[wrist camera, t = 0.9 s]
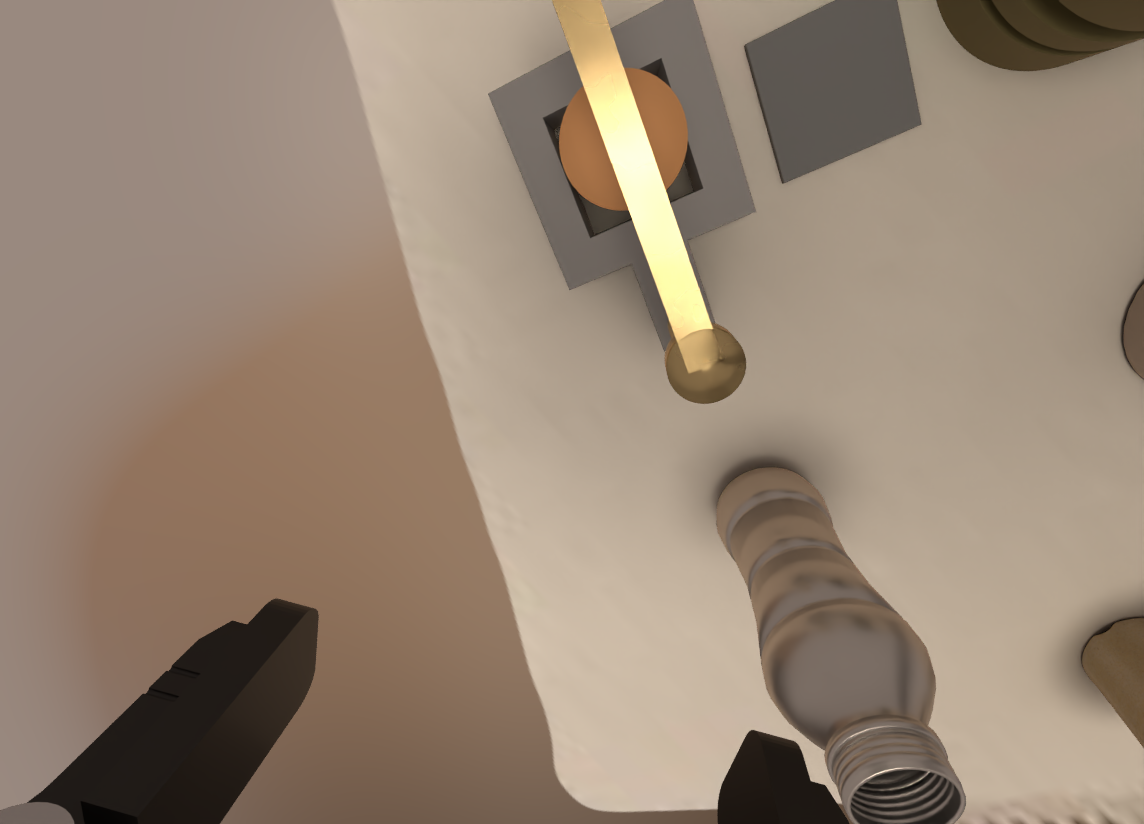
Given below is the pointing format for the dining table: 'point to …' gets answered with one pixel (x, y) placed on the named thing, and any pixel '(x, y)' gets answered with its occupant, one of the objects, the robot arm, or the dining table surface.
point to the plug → (588, 150)
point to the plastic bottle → (838, 654)
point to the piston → (1041, 29)
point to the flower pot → (1120, 670)
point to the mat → (833, 83)
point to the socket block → (721, 191)
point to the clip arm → (651, 212)
